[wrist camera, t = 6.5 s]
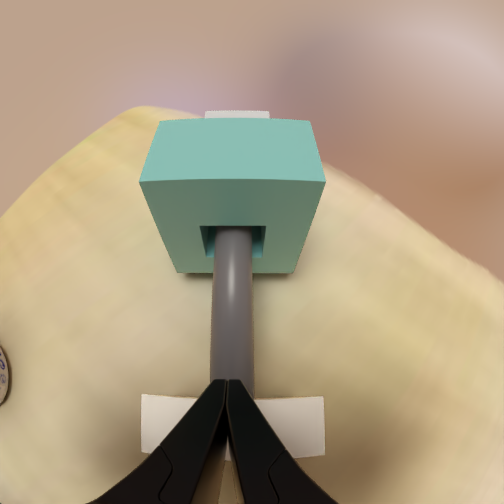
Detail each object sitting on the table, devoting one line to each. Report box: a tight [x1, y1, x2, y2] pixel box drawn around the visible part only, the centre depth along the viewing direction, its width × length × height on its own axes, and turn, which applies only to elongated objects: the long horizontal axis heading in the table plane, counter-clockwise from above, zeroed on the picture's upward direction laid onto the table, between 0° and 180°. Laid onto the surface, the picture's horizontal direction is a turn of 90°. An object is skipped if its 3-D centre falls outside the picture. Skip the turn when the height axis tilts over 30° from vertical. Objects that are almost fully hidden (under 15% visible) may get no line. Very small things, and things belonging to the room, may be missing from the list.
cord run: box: [141, 111, 325, 461], centre depth 15 cm, size 20×7×7 cm, turn 1°
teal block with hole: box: [139, 118, 326, 273], centre depth 14 cm, size 4×7×8 cm, turn 91°
